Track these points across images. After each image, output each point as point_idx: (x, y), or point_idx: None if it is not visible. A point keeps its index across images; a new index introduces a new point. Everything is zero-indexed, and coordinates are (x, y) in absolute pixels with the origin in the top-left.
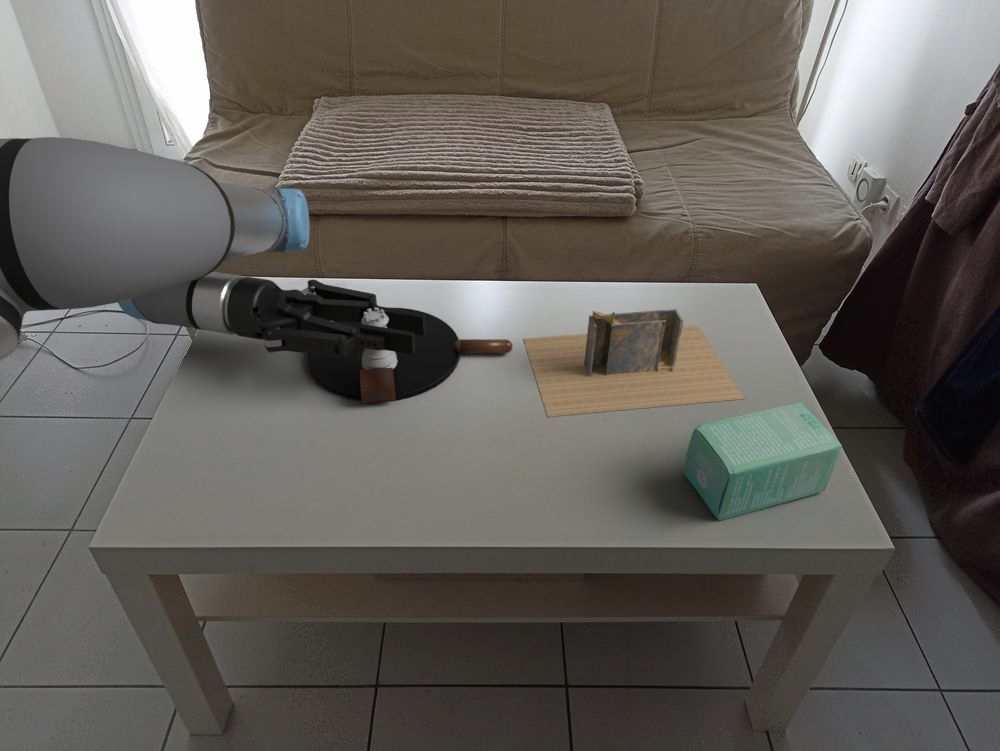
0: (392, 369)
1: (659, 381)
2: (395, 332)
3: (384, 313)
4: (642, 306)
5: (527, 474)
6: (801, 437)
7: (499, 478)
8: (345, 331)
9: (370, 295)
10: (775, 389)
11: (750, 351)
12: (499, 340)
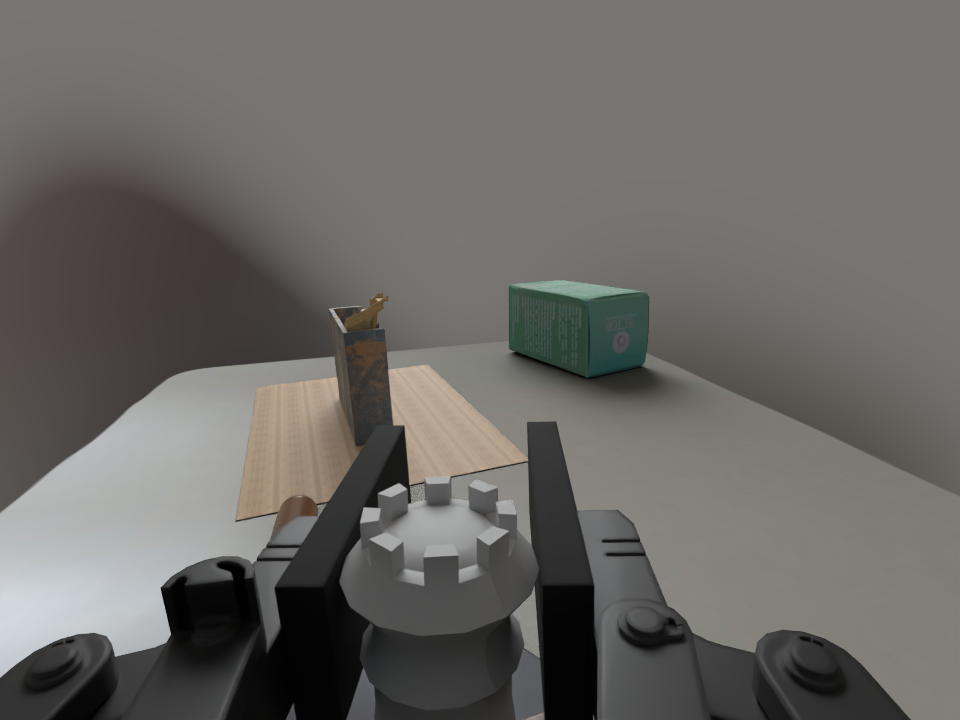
0: (536, 714)
1: (400, 398)
2: (556, 456)
3: (429, 477)
4: (175, 419)
5: (701, 460)
6: (564, 283)
7: (746, 483)
8: (695, 669)
9: (56, 661)
10: (405, 357)
11: (329, 366)
12: (291, 506)
